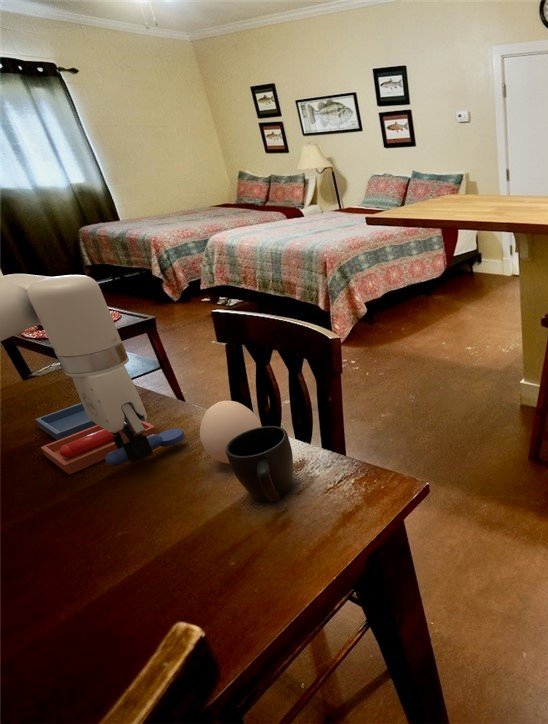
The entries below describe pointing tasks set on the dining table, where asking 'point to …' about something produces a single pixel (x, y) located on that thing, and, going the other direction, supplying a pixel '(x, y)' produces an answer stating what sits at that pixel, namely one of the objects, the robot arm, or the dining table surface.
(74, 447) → the red spoon
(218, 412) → the egg
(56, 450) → the terracotta tray
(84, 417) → the blue tray
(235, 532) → the dining table surface
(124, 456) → the blue spoon
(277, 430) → the mug
